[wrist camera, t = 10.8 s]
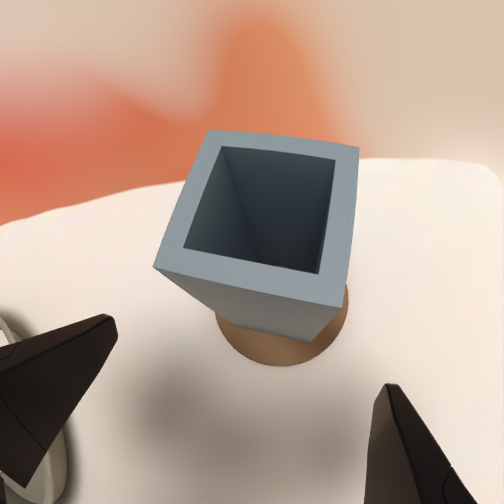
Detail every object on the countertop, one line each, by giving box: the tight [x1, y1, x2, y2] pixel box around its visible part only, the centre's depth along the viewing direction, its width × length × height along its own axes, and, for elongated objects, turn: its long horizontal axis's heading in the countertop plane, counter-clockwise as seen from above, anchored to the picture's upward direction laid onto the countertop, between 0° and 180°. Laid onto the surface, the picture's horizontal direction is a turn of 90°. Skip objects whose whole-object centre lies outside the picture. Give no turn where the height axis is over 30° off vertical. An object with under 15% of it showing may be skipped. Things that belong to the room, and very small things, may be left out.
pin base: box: [215, 265, 348, 366], centre depth 17 cm, size 9×9×5 cm
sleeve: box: [153, 130, 359, 342], centre depth 13 cm, size 5×5×12 cm
